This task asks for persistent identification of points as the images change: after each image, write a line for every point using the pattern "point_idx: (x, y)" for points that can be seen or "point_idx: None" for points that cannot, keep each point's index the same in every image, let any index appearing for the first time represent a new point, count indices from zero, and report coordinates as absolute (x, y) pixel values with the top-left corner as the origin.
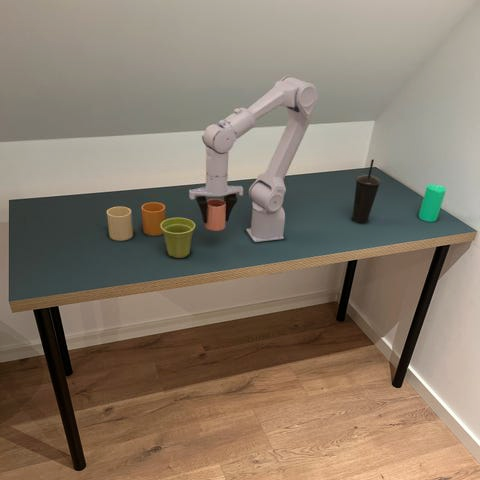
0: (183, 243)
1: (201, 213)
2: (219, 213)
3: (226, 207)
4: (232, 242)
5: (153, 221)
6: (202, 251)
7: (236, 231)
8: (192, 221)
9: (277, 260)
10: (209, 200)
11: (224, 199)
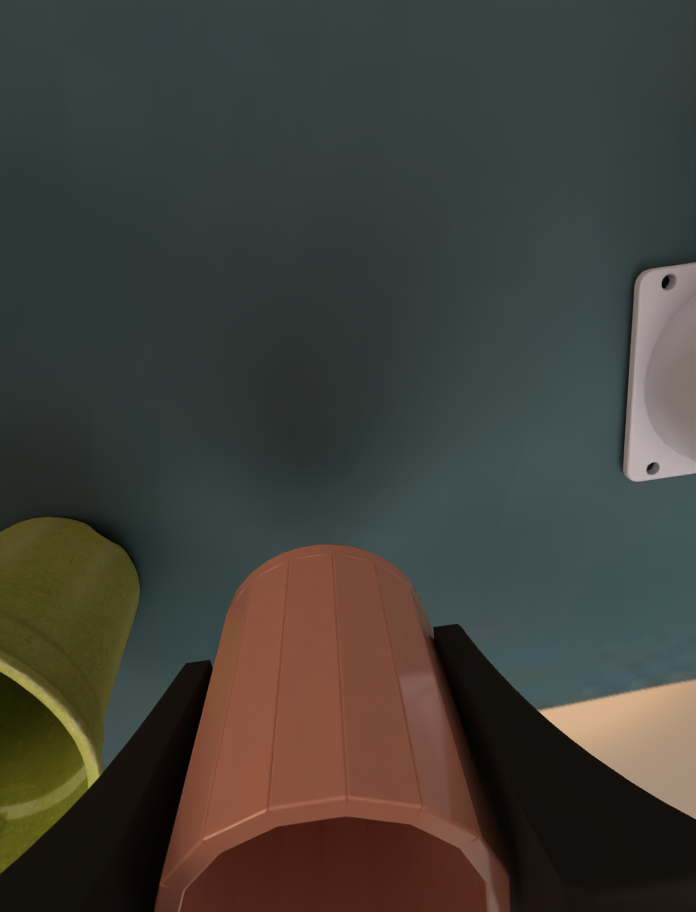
0: (52, 748)
1: (145, 723)
2: (363, 896)
3: (492, 819)
4: (464, 459)
5: None
6: (231, 566)
7: (547, 278)
8: (63, 713)
9: (667, 675)
10: (230, 839)
11: (519, 821)
